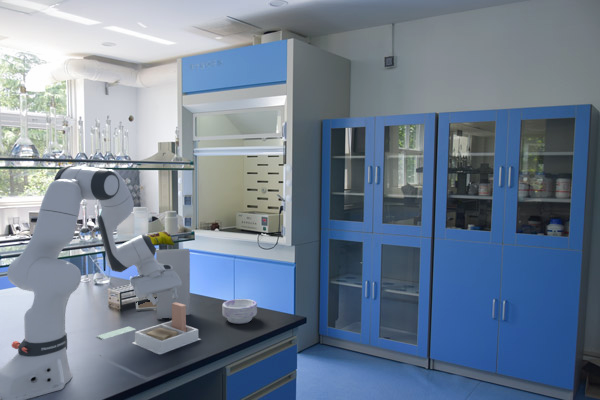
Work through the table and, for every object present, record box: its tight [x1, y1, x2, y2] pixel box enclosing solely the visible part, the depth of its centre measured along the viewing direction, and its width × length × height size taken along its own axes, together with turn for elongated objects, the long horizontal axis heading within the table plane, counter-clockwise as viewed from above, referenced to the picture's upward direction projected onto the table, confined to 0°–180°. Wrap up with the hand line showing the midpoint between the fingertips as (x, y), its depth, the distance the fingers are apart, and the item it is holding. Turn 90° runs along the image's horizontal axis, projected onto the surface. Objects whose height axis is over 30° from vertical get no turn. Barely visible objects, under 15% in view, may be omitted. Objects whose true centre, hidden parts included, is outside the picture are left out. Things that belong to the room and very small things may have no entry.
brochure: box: [155, 248, 191, 320], centre depth 205 cm, size 14×6×30 cm, turn 108°
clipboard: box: [135, 301, 157, 312], centre depth 227 cm, size 19×2×30 cm
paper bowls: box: [221, 298, 258, 325], centre depth 202 cm, size 15×15×8 cm
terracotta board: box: [171, 302, 187, 332], centre depth 178 cm, size 2×6×13 cm, turn 53°
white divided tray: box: [132, 320, 201, 356], centre depth 174 cm, size 19×17×5 cm
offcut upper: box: [146, 328, 177, 341], centre depth 172 cm, size 7×9×2 cm
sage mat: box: [96, 326, 137, 340], centre depth 181 cm, size 14×14×1 cm
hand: (166, 301), depth 183 cm, fingers open, 8 cm apart
